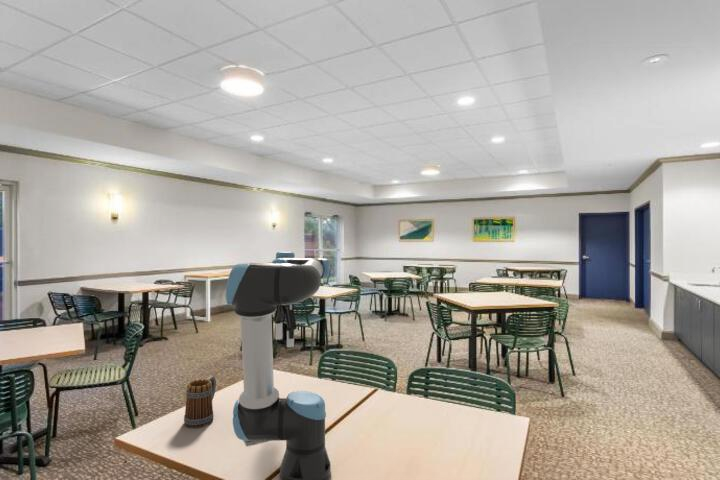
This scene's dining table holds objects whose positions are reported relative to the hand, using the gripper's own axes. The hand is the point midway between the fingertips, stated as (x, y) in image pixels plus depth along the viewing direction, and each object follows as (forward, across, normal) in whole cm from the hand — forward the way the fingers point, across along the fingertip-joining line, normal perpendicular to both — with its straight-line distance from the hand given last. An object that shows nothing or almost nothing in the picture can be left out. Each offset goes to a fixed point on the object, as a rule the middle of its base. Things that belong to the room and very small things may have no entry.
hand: (284, 342), depth 160 cm
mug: (+29, +11, +29) cm, 42 cm away
